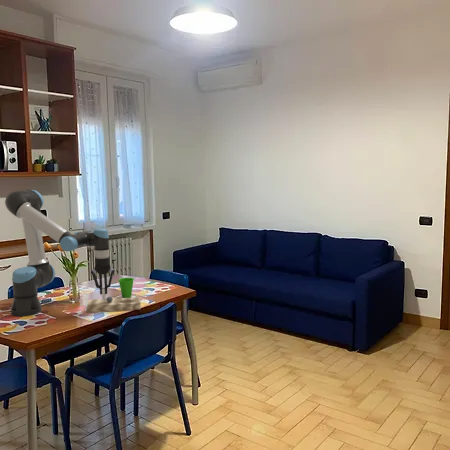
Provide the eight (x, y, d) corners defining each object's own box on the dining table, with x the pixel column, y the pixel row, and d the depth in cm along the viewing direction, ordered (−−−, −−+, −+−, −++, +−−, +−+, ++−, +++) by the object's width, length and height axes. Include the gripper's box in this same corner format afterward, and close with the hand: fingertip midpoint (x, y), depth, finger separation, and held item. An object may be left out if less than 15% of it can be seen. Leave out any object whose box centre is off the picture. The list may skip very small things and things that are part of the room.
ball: (110, 296, 252) (113, 301, 252) (111, 294, 255) (113, 300, 255) (105, 298, 251) (107, 304, 252) (105, 297, 255) (108, 302, 255)
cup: (115, 298, 273) (115, 280, 272) (125, 294, 281) (125, 277, 280) (127, 300, 269) (127, 282, 268) (137, 296, 277) (137, 278, 276)
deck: (87, 312, 247) (86, 306, 247) (89, 305, 259) (89, 299, 259) (140, 309, 252) (140, 303, 252) (140, 303, 264) (140, 297, 264)
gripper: (88, 259, 245) (90, 302, 248) (114, 258, 247) (115, 301, 250) (90, 256, 252) (92, 298, 255) (115, 255, 255) (116, 297, 258)
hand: (104, 299), depth 253 cm, fingers closed
